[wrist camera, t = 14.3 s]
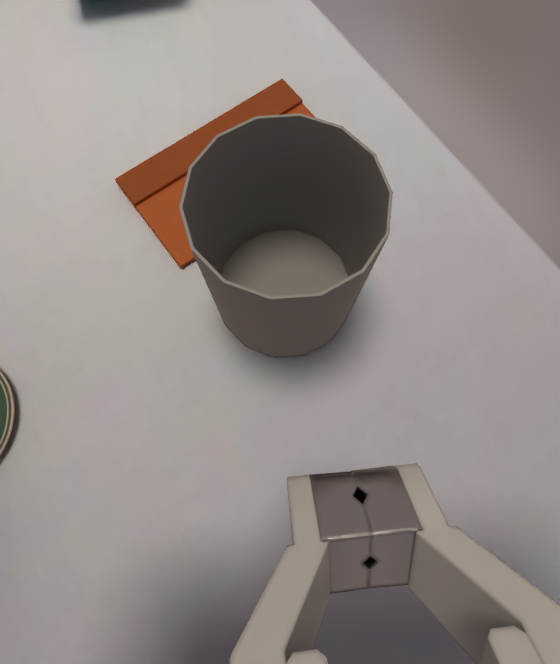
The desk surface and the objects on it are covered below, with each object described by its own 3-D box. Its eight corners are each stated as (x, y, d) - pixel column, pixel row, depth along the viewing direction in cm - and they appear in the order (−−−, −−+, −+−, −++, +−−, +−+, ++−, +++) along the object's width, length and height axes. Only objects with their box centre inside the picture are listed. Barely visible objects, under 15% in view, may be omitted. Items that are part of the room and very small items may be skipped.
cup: (378, 296, 26) (436, 205, 16) (282, 385, 24) (283, 344, 14) (285, 210, 27) (288, 81, 18) (191, 288, 26) (137, 194, 16)
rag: (181, 269, 26) (178, 264, 25) (117, 183, 28) (113, 176, 27) (349, 157, 28) (351, 150, 28) (280, 84, 30) (280, 76, 29)
